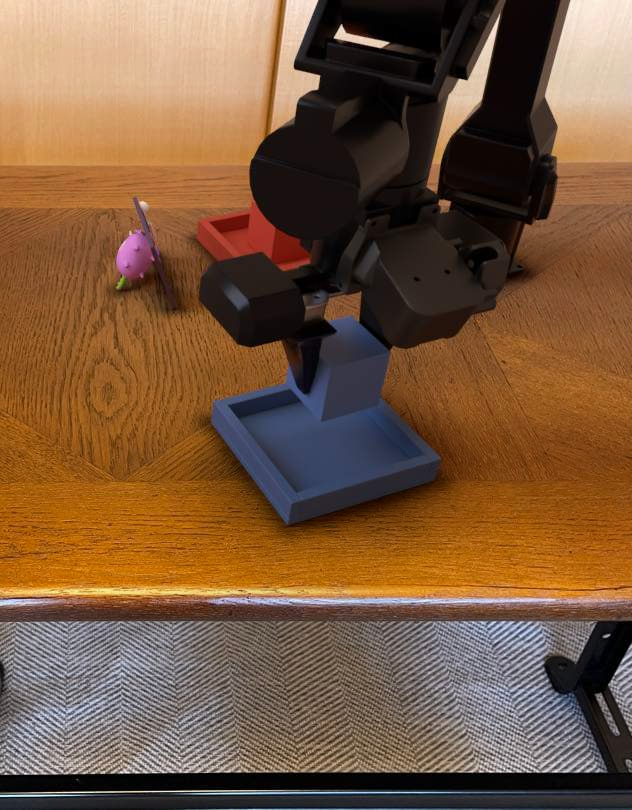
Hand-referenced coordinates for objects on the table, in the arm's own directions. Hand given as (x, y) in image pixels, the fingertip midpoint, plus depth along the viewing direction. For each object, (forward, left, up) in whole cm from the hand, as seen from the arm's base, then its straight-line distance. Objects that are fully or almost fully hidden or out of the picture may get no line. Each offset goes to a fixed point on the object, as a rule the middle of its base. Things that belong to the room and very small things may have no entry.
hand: (333, 382), depth 62 cm
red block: (-11, -25, -6) cm, 28 cm away
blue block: (0, 0, -1) cm, 1 cm away
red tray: (-11, -25, -6) cm, 28 cm away
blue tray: (0, 0, -6) cm, 6 cm away
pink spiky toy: (+3, -25, -6) cm, 26 cm away
